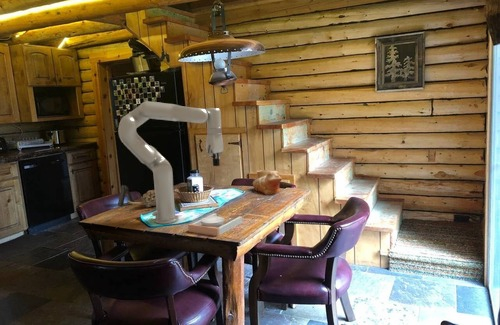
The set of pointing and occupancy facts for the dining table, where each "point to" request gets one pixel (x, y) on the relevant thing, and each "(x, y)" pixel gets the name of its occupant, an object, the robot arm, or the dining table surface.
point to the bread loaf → (267, 182)
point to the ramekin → (212, 221)
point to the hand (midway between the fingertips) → (216, 165)
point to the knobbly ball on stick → (147, 199)
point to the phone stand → (122, 196)
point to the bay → (215, 231)
